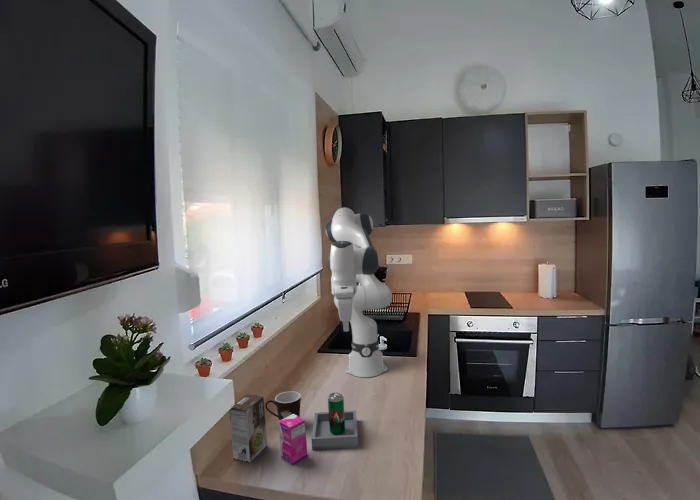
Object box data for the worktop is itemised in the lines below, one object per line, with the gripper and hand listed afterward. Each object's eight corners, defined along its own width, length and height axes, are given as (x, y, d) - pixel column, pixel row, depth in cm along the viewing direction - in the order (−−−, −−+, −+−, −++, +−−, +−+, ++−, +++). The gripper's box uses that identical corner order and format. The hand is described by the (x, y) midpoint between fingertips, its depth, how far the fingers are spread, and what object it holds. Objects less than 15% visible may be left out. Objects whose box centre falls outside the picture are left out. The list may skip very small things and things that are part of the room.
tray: (315, 422, 137) (315, 412, 136) (356, 420, 137) (355, 410, 137) (312, 450, 121) (311, 438, 120) (358, 447, 121) (357, 436, 121)
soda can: (337, 425, 132) (335, 390, 131) (348, 430, 129) (346, 394, 128) (326, 431, 129) (324, 396, 128) (337, 437, 125) (335, 400, 124)
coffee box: (250, 442, 127) (246, 393, 125) (267, 445, 124) (264, 395, 123) (232, 459, 118) (228, 406, 117) (250, 463, 116) (246, 409, 114)
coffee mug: (307, 422, 137) (305, 394, 136) (291, 434, 130) (289, 405, 129) (281, 414, 143) (279, 387, 142) (264, 426, 136) (262, 398, 135)
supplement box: (280, 457, 118) (277, 420, 117) (296, 448, 122) (294, 412, 121) (292, 465, 114) (289, 427, 113) (308, 456, 118) (306, 419, 117)
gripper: (335, 283, 149) (337, 319, 150) (334, 294, 129) (336, 336, 130) (352, 282, 149) (354, 318, 150) (354, 293, 129) (356, 335, 130)
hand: (346, 327), depth 140 cm, fingers open, 8 cm apart
